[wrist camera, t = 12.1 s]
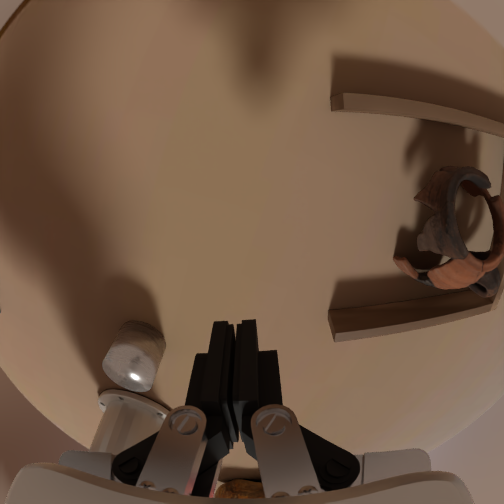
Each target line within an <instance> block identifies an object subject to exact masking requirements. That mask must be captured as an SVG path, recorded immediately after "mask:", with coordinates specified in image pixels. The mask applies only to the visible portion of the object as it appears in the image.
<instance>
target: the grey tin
mask: <svg viewBox="0 0 504 504" xmlns="http://www.w3.org/2000/svg"><path fill="white" fill-rule="evenodd" d="M165 348H166V342H165V339H164V338H163V336H162V335H161V333H160V332H159V331H158V330H157V329H155V328H154V327H152V326H151V325H149V324H147V323H144V322H141V321H129V322H126V323H125V324H124V325H123V326H122V328H121V329H120V331H119V333H118V335H117V336H116V338H115V340H114V342H113V344H112V345H111V347H110V349H109V351H108V353H107V355H106V356H105V358H104V360H103V362H102V367H103V370H104V372H105V373H106V375H107V376H108V377H109V378H110V379H111V380H112V381H113V382H115V383H116V384H118V385H119V386H121V387H123V388H125V389H128V390H131V391H136V392H145V391H148V390H150V389H151V388H152V385H153V382H154V379H155V377H156V374H157V371H158V368H159V365H160V362H161V360H162V357H163V354H164V351H165Z"/></svg>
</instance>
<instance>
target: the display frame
mask: <svg viewBox="0 0 504 504" xmlns="http://www.w3.org/2000/svg"><path fill="white" fill-rule="evenodd" d="M330 100H331V111H339V112H360V113H374V114H385V115H395V116H403V117H411V118H418V119H424V120H430V121H436V122H442V123H447V124H452V125H457V126H461V127H466V128H470V129H474V130H478V131H482V132H486V133H489V134H493V135H496V136H500V137H503V138H504V124H503V123H500V122H497V121H494V120H491V119H488V118H485V117H482V116H479V115H475V114H472V113H468V112H465V111H461V110H457V109H453V108H449V107H444V106H440V105H435V104H430V103H425V102H420V101H414V100H408V99H402V98H395V97H387V96H378V95H369V94H357V93H340V94H338V95H335V96H332V97H330ZM500 197H501V199H502V202H503V205H504V165H503V177H502V187H501V195H500ZM493 239H494V235H493ZM493 239H492V244H491V248H490V250H491V251H492V248H493ZM497 268H498V270H499V273H500V278H501V282H500V285H499V288H498V291H497V293H496V294H494V295H493V296H492V297H486V298H484V297H481V296H479V295H478V294H476V293H475V292H474V291H472V290H466V291H461V292H456V293H451V294H445V295H439V296H434V297H428V298H422V299H415V300H409V301H402V302H395V303H388V304H380V305H373V306H364V307H356V308H347V309H337V310H329V311H328V322H329V325H330V329H331V332H332V336H333V339H334V342H341V341H349V340H357V339H364V338H371V337H377V336H383V335H389V334H395V333H401V332H406V331H411V330H416V329H421V328H426V327H430V326H435V325H439V324H444V323H448V322H452V321H456V320H460V319H464V318H468V317H471V316H475V315H479V314H482V313H485V312H489V311H492V310H495V309H496V307H497V304H498V302H499V299H500V297H501V294H502V292H503V289H504V256H503V258H502V260H501V262H500V263H499V264H498V266H497Z"/></svg>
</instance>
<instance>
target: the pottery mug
mask: <svg viewBox="0 0 504 504" xmlns="http://www.w3.org/2000/svg"><path fill="white" fill-rule="evenodd" d="M461 181H462V184H461V186H462V187H463V189H464V190H466V191H467V192H468V193H469V194H470V195H472V196H473V197H476V196H478V195H481V196H484V198H485V200H486V202H487V204H488V206H489V209H490V212H491V215H492V219H493V230H494V239H493V248H492V251H491V250H488V251H486V252H473V251H468V250H467V248H466V246H465V244H464V242H463V240H462V238H461V235H460V233H459V229H458V225H457V221H456V216H455V196H456V192H457V189H458V186H459V184H460V182H461ZM490 187H491V183H490V181H489V179H488V177H487V176H486V175H485V174H484V173H483V172H481V171H480V170H478V169H476V168H474V167H469V166H467V167H462V168H458V167H454V166H447V167H442V168H440V170H439V171H436V172H435V173H434V174H433V176H432V178H431V180H430V182H429V183H428V185H427V186H426V187H425V188H424V189H423V190H422V191H420V192H419V193H418V194H417V195H416V196H415V197H414V200H415V201H419V202H421V203H423V204H424V205H426V206H427V207H429V208H430V209H432V210H433V211H434V212H435V215H433V216H432V217H430V218H429V219H428V220H427V222H426V223H425V225H424V227H423V230H422V232H421V233H420V234H419V235H418V237H417V246H418V249H419V251H428V250H430V251H432V252H434V253H437V254H442V255H445V256H448V257H450V258H451V259H449V260H448V261H447V262H446V263H444V264H442V265H436V266H435V267H433V268H432V269H430V270H429V271H427V272H424V273H418V272H417V271H416V270H415V269H414V268H413V267H412V265H411V264H410V263H409V261H408V260H407V258H405V257H402V258H400V257H399V256H394V257H393V260H394V262H395V263H396V265H397V266H398V267H399V268H400V269H401V270H402V271H403V272H404V273H406V274H408V275H409V276H411V277H412V278H414V279H415V280H416V281H418V282H421V283H424V284H425V285H429V286H432V287H436V288H440V289H446V290H447V289H460V288H465V287H467V286H468V287H469V288H470V289H471V290H472V291H474V292H475V293H476V294H478V295H479V296H481V297H484V298H486V297H492V296H493V295H494V294H496V293H497V291H498V288H499V285H500V282H501V278H500V273H499V270H498V268H497V266H498V264H499V263H500V262H501V260H502V258H503V256H504V205H503V202H502V199H501V197H500V196H499V195H497V196H494V197H491V196H490V194H489V192H488V191H487V189H488V188H490Z"/></svg>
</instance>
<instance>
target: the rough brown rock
mask: <svg viewBox="0 0 504 504" xmlns="http://www.w3.org/2000/svg"><path fill="white" fill-rule="evenodd" d="M215 498H230V499H257V498H265V494H264V490H263V485H262V482H253V481H248V480H243V479H234V480H232V481H231V482H226V483H224V484H222V485H221V486H220V487H219V488H218V489H217V491H216V494H215Z"/></svg>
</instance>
